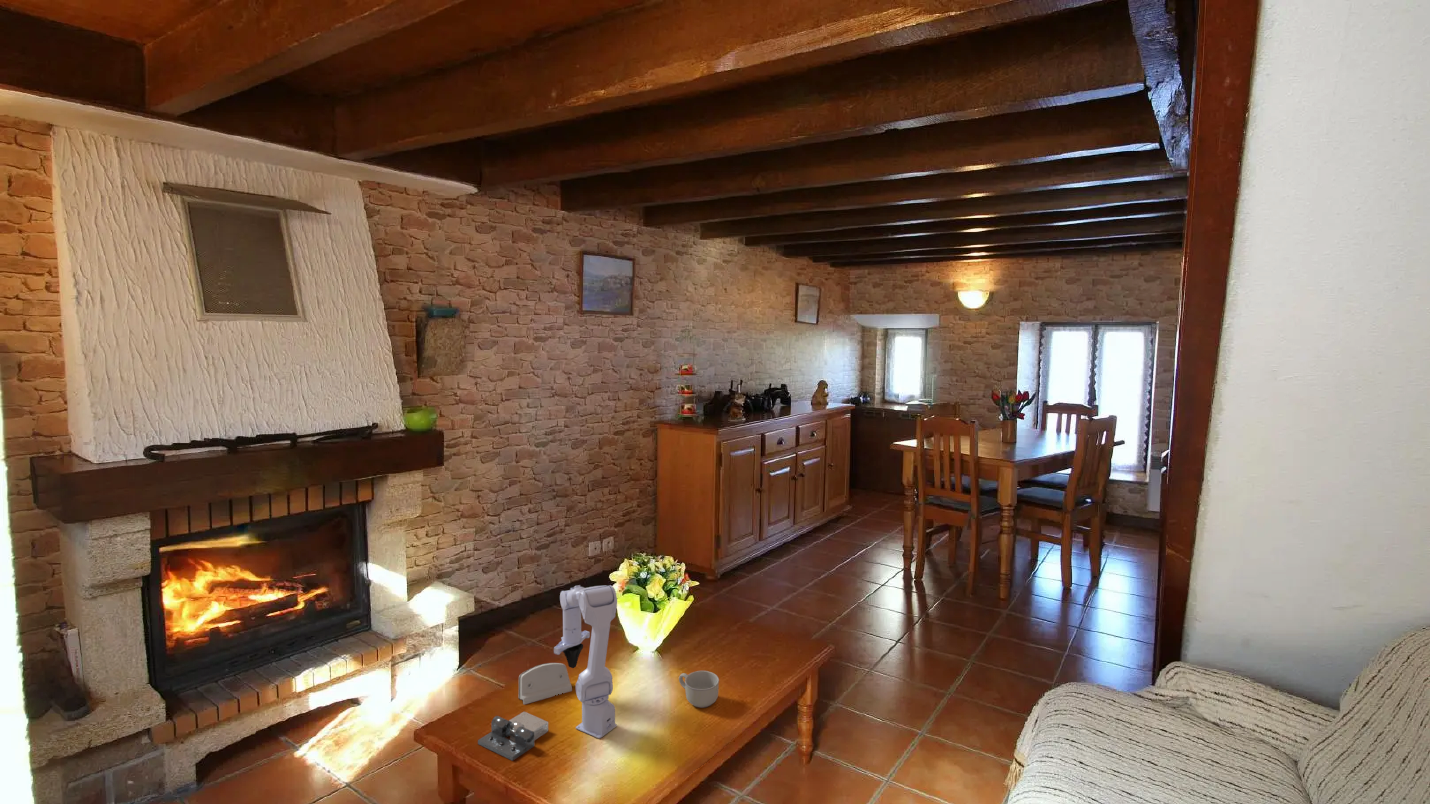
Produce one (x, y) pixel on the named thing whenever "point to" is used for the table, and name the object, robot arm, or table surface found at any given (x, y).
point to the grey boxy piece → (528, 725)
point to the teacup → (700, 687)
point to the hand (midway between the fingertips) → (572, 666)
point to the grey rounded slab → (543, 682)
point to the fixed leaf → (504, 746)
